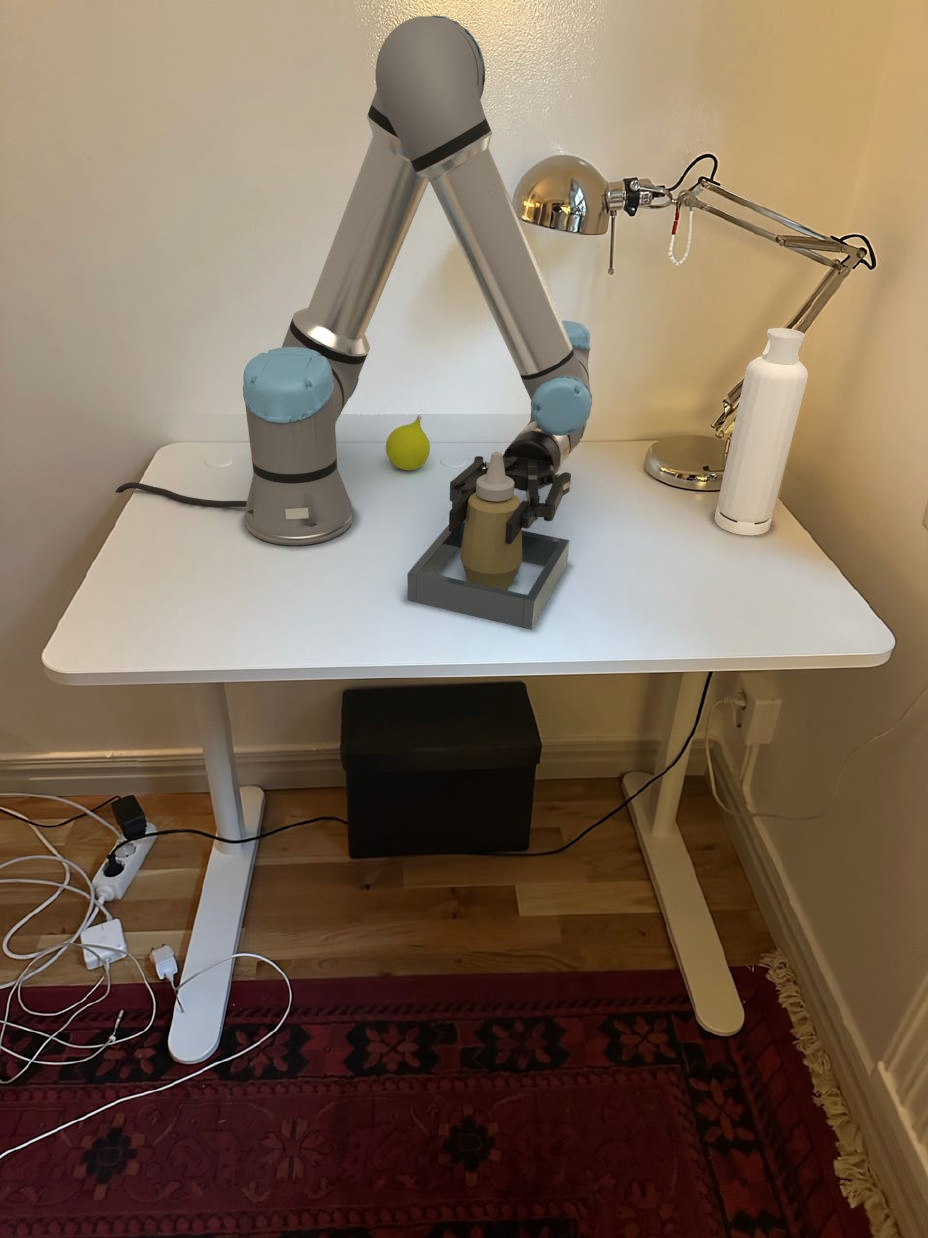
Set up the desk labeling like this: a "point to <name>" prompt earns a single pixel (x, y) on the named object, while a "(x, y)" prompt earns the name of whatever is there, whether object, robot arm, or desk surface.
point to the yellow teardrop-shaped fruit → (408, 446)
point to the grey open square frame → (483, 598)
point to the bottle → (762, 434)
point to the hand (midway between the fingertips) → (480, 527)
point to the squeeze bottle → (491, 530)
